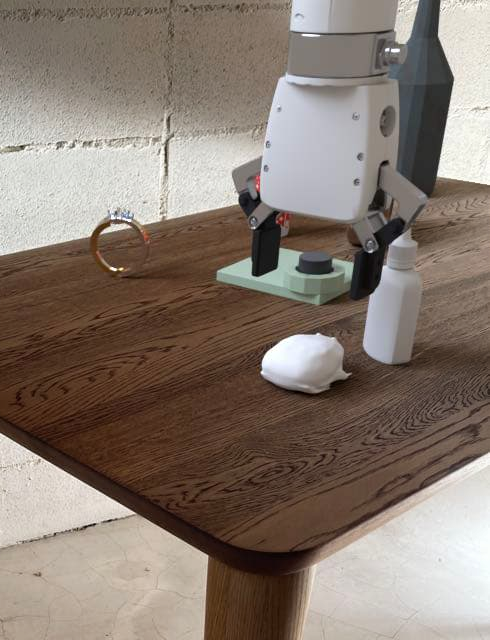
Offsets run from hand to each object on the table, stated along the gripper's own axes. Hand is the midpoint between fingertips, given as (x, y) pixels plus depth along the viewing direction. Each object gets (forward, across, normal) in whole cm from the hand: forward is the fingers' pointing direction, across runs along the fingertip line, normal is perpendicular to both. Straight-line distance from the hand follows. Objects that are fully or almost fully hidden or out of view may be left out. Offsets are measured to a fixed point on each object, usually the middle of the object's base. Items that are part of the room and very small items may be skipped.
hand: (311, 284), depth 75 cm
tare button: (+6, +11, -20) cm, 24 cm away
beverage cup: (+9, +29, -37) cm, 48 cm away
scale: (+9, +16, -23) cm, 30 cm away
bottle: (+8, +26, -67) cm, 73 cm away
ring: (+9, +33, -11) cm, 36 cm away
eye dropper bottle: (+9, -3, -10) cm, 14 cm away
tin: (+9, +18, -43) cm, 48 cm away
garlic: (+9, 0, 0) cm, 9 cm away
